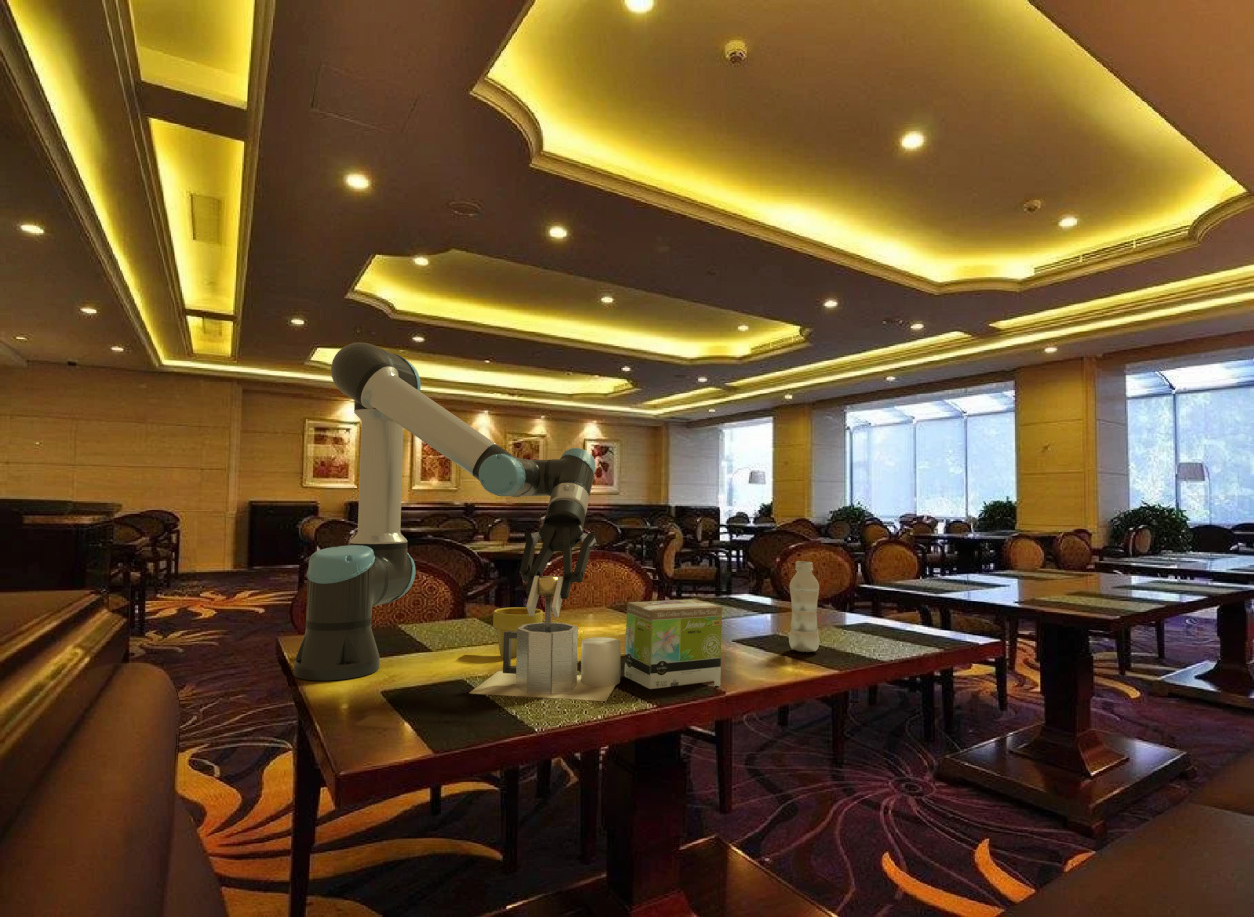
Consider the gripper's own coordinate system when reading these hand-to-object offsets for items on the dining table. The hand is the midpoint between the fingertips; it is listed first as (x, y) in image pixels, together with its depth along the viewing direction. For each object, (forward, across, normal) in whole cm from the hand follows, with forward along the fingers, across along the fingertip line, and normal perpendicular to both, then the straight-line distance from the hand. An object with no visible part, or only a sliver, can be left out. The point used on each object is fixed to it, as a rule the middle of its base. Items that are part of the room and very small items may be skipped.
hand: (542, 611), depth 115 cm
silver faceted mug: (+7, -1, +12) cm, 14 cm away
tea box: (+1, +21, +20) cm, 29 cm away
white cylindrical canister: (+3, +8, +16) cm, 18 cm away
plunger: (+4, 0, +9) cm, 10 cm away
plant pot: (-10, -13, +31) cm, 35 cm away
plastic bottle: (-23, +48, +44) cm, 69 cm away
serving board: (+7, 0, +14) cm, 15 cm away
